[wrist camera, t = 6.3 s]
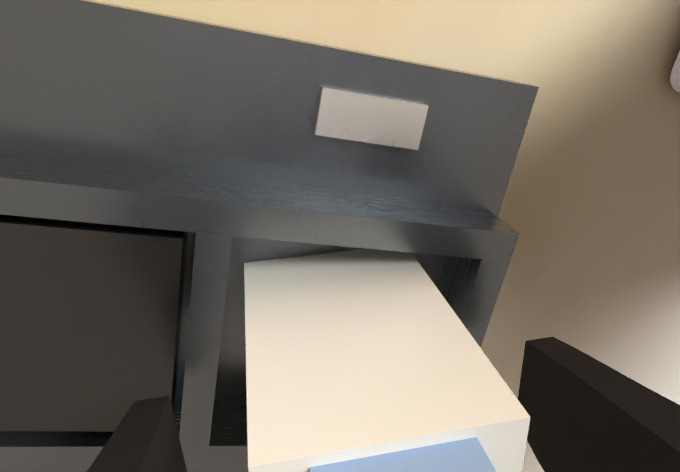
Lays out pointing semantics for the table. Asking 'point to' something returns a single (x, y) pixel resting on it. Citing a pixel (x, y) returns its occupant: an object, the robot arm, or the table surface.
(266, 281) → the cream white rectangular block
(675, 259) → the table surface
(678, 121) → the table surface
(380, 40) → the table surface
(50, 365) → the grey compartment tray
